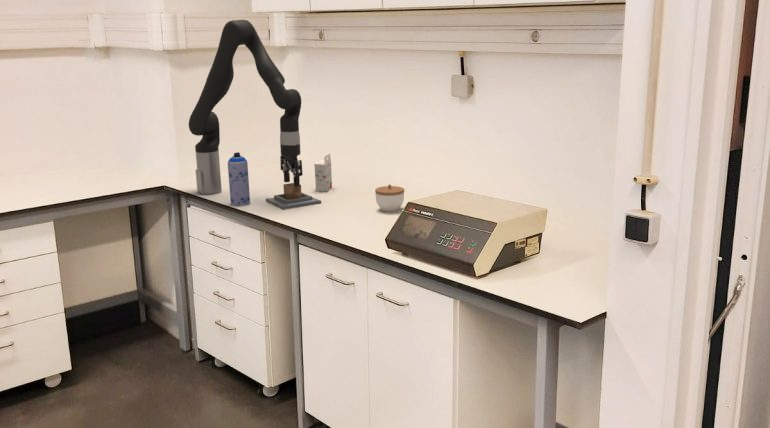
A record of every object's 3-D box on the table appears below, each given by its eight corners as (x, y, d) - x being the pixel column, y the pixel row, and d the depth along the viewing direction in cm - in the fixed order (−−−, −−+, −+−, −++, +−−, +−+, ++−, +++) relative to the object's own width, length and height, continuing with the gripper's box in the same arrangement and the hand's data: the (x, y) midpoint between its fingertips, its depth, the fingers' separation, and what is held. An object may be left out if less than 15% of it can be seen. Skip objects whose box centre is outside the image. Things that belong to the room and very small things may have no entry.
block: (290, 201, 274) (289, 186, 272) (284, 199, 278) (283, 184, 276) (301, 199, 277) (301, 184, 275) (295, 197, 281) (294, 182, 279)
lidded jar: (398, 214, 257) (397, 188, 255) (370, 211, 261) (370, 186, 259) (408, 207, 267) (408, 182, 265) (382, 205, 271) (381, 180, 269)
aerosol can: (239, 200, 282) (235, 150, 277) (254, 202, 278) (251, 151, 273) (225, 205, 275) (221, 153, 270) (241, 207, 271) (237, 155, 266)
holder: (283, 209, 267) (282, 203, 266) (265, 201, 280) (265, 195, 279) (321, 203, 275) (320, 196, 275) (302, 195, 288) (302, 189, 288)
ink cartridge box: (321, 187, 302) (319, 152, 299) (332, 187, 301) (331, 153, 298) (315, 191, 294) (313, 156, 290) (326, 192, 293) (325, 156, 289)
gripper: (273, 141, 275) (275, 182, 280) (289, 146, 264) (291, 189, 268) (290, 139, 279) (292, 179, 284) (307, 144, 268) (309, 186, 272)
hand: (291, 184), depth 276 cm, fingers open, 8 cm apart
